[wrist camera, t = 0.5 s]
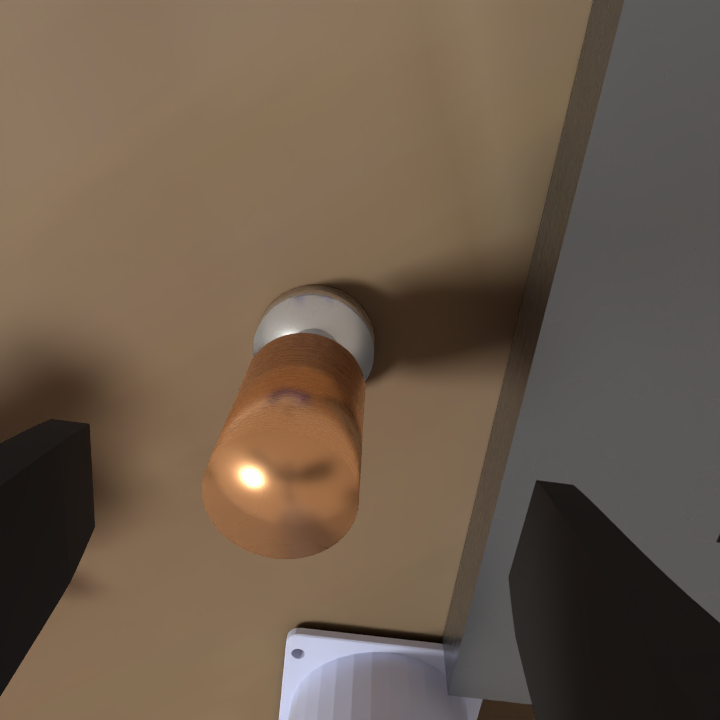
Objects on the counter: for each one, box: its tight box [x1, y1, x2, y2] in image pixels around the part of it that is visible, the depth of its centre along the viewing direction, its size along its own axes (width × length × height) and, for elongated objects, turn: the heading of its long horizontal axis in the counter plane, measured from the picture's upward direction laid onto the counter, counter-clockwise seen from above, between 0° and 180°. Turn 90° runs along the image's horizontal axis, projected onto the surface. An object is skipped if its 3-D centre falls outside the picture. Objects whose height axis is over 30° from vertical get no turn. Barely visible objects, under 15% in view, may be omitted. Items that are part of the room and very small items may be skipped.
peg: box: [202, 285, 375, 559], centre depth 17 cm, size 4×4×8 cm
